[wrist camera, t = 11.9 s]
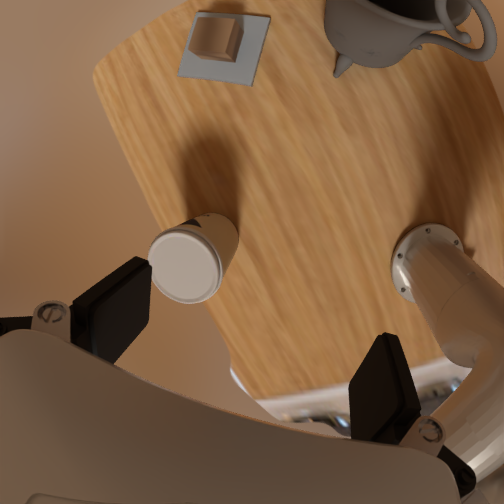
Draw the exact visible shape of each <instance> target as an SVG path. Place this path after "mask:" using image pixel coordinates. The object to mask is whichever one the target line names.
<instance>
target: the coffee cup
mask: <svg viewBox="0 0 504 504" xmlns="http://www.w3.org/2000/svg"><path fill="white" fill-rule="evenodd" d="M238 241H239V239H238V233H237V230H236V228H235V226H234V225H233V223H232V222H231V221H230V220H229V219H228V218H226V217H225V216H223V215H221V214H217V213H206V214H203V215H200V216H198V217H195V218H193V219H191V220H189V221H186V222H184V223H182V224H180V225H178V226H176V227H173V228H170V229H167V230H165V231H163V232H162V233H160V234H159V235H158V236H157V237H156V238H155V240H154V241H153V242H152V244H151V247H150V249H149V254H148V261H149V265H151V266H152V280H153V282H154V283H155V285H156V286H157V287H158V288H159V290H160V291H161V292H162V293H164V294H165V295H166V296H167V297H169V298H171V299H173V300H175V301H177V302H181V303H187V304H191V303H192V304H193V303H198V302H202V301H205V300H207V299H209V298H210V297H211V296H213V295H214V294H215V293H216V291H217V290H218V288H219V287H220V284H221V282H222V279H223V277H224V275H225V273H226V271H227V269H228V267H229V265H230V263H231V261H232V259H233V257H234V254H235V252H236V250H237V247H238Z"/></svg>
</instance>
